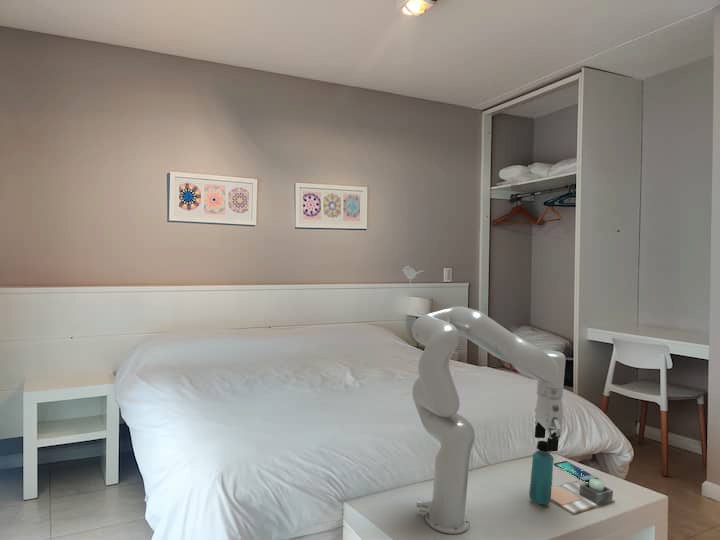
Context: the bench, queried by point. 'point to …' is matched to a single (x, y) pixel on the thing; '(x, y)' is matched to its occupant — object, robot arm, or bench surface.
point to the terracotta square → (562, 496)
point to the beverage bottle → (541, 475)
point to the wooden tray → (585, 497)
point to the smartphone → (575, 468)
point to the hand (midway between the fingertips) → (545, 444)
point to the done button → (596, 485)
